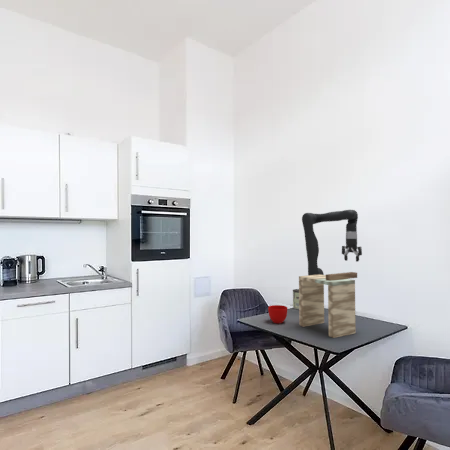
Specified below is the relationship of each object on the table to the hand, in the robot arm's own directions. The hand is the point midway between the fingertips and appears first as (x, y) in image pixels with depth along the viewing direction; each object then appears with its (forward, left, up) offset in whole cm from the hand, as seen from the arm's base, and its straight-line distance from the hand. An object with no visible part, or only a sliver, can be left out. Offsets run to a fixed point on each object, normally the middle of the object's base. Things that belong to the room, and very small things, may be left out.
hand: (351, 261), depth 242 cm
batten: (+12, -31, -8) cm, 34 cm away
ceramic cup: (-28, -46, -40) cm, 67 cm away
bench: (+4, -36, -40) cm, 54 cm away
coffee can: (-44, -4, -40) cm, 60 cm away
